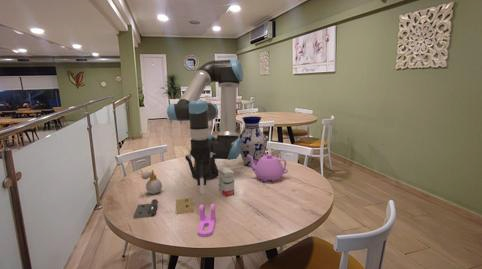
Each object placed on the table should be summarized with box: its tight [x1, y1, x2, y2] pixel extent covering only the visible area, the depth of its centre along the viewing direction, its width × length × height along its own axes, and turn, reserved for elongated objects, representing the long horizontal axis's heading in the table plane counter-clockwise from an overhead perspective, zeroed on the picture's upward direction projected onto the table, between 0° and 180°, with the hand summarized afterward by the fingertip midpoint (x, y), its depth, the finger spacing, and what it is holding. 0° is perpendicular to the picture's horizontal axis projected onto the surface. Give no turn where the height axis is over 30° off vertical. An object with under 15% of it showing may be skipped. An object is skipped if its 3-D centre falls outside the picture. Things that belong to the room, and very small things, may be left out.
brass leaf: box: [175, 197, 195, 215], centre depth 119 cm, size 7×10×3 cm
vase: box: [238, 116, 268, 167], centre depth 175 cm, size 19×19×30 cm
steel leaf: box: [132, 199, 159, 219], centre depth 117 cm, size 8×10×3 cm
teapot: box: [247, 153, 289, 183], centre depth 150 cm, size 22×16×14 cm
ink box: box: [217, 166, 235, 198], centre depth 133 cm, size 8×5×12 cm, turn 26°
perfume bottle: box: [141, 169, 163, 195], centre depth 134 cm, size 8×10×12 cm
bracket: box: [197, 203, 217, 238], centre depth 103 cm, size 13×6×7 cm, turn 0°
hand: (202, 192), depth 119 cm, fingers closed
